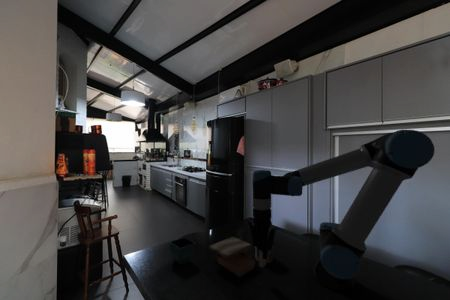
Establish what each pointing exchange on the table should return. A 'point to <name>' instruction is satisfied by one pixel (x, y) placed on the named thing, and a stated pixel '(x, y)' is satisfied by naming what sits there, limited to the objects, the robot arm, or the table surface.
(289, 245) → the table surface
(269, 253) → the teacup with lid
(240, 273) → the tile
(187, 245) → the flower pot
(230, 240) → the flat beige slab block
